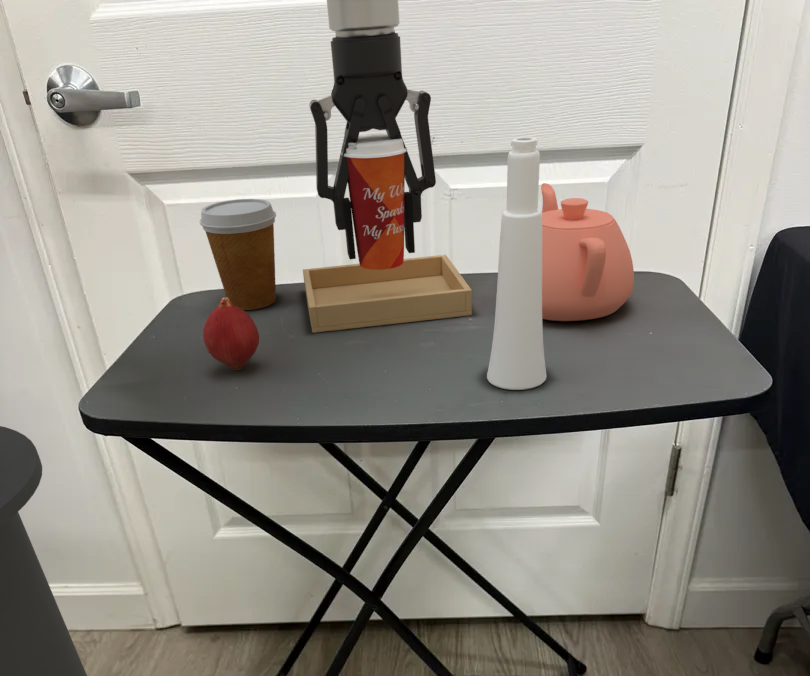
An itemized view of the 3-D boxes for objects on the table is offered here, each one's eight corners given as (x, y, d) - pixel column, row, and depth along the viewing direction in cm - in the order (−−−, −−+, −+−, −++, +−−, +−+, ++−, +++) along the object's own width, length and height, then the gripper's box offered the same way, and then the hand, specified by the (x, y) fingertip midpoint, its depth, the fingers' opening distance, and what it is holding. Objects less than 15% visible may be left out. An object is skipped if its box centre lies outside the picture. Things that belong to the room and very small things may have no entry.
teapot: (487, 283, 104) (487, 184, 97) (595, 272, 105) (604, 174, 98) (528, 343, 86) (532, 228, 79) (658, 329, 87) (674, 215, 80)
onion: (201, 369, 85) (185, 297, 81) (246, 354, 88) (233, 284, 84) (227, 384, 82) (212, 310, 77) (273, 368, 84) (261, 295, 80)
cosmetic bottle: (557, 383, 77) (573, 139, 65) (503, 395, 76) (509, 148, 63) (528, 361, 82) (537, 130, 69) (476, 373, 80) (477, 138, 68)
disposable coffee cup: (264, 285, 108) (249, 194, 101) (302, 300, 102) (289, 204, 95) (203, 303, 104) (183, 208, 97) (239, 320, 98) (221, 220, 90)
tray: (312, 332, 93) (309, 307, 91) (305, 292, 105) (302, 269, 103) (472, 315, 94) (472, 289, 93) (446, 277, 107) (446, 254, 105)
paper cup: (376, 276, 92) (366, 147, 84) (338, 264, 97) (326, 140, 89) (425, 261, 96) (421, 136, 88) (387, 250, 101) (380, 131, 93)
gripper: (447, 24, 87) (451, 237, 100) (272, 37, 85) (301, 253, 98) (462, 26, 80) (464, 253, 94) (273, 41, 79) (304, 270, 92)
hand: (381, 252), depth 96 cm, fingers closed on paper cup, 7 cm apart
